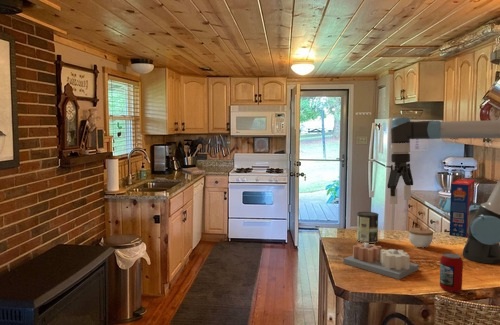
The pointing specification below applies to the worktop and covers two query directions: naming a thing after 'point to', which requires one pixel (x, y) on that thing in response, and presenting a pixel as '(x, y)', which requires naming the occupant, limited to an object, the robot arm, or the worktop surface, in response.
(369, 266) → the gear board
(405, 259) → the cream gear
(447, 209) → the teapot
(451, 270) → the beverage can
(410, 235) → the lidded jar
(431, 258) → the worktop surface
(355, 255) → the rust gear
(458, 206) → the pasta box
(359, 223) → the coffee can
